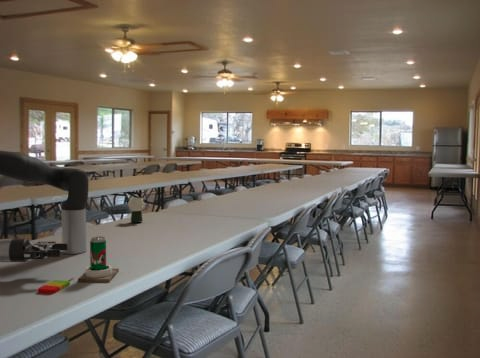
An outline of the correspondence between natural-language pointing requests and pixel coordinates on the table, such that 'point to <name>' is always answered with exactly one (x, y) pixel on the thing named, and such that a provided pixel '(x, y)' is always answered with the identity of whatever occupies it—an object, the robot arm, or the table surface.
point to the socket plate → (98, 275)
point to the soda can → (98, 253)
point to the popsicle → (54, 286)
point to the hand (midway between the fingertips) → (64, 249)
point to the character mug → (136, 209)
